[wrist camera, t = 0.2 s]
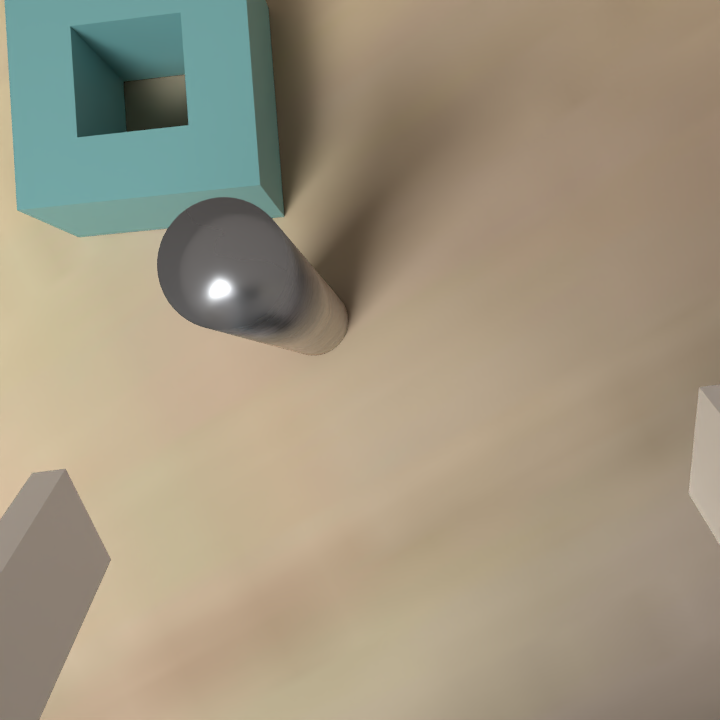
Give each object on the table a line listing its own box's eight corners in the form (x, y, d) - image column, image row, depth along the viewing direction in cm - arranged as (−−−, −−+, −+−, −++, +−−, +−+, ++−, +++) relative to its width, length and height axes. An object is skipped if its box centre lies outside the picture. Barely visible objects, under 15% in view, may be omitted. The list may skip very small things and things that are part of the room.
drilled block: (284, 216, 31) (260, 185, 26) (78, 237, 32) (17, 210, 27) (268, 8, 32) (241, -62, 27) (65, 33, 32) (2, -31, 27)
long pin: (350, 352, 31) (292, 323, 16) (282, 358, 31) (162, 335, 16) (345, 283, 31) (283, 190, 16) (277, 289, 31) (152, 203, 16)
